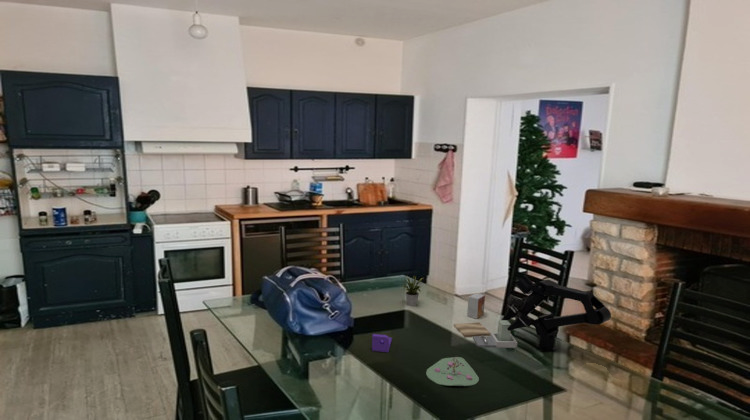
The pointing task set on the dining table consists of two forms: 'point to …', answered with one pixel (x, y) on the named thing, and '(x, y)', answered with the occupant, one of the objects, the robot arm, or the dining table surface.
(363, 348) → the dining table surface
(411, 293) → the house plant
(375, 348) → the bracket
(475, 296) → the small box
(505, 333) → the block
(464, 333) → the oak pad
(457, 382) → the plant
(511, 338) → the equipment case
